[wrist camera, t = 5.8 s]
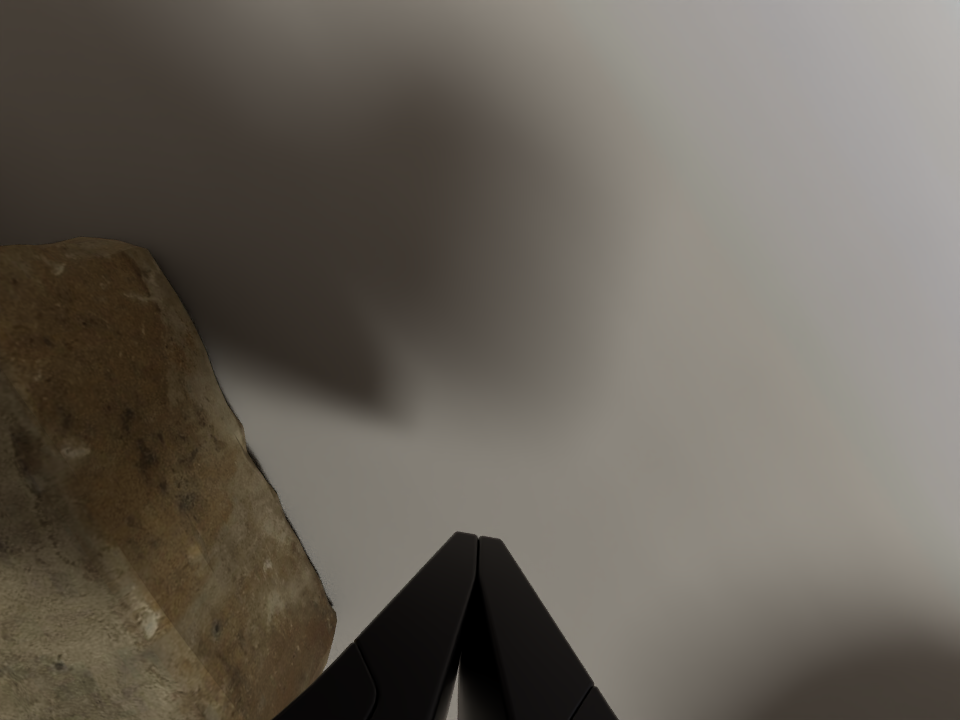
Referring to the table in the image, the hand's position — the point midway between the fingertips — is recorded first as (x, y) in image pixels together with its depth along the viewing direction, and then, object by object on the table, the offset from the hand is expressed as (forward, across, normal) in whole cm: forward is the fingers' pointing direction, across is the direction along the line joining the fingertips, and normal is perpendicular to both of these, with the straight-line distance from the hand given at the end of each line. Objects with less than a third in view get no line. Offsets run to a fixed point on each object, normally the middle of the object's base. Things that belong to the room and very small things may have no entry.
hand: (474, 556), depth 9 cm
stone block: (+3, +8, +2) cm, 9 cm away
